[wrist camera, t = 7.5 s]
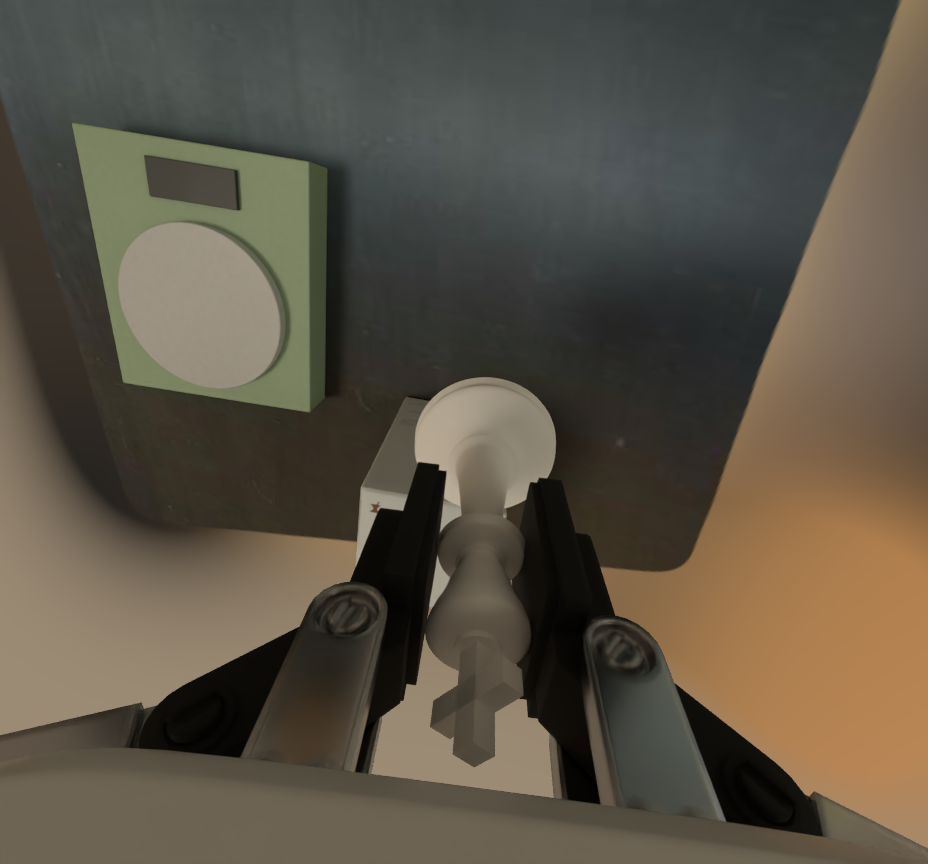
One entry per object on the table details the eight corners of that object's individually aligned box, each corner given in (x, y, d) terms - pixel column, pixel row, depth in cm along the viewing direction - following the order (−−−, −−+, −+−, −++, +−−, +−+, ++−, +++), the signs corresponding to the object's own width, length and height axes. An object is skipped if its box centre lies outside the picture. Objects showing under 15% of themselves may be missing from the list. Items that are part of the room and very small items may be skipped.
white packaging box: (393, 477, 35) (345, 596, 24) (405, 393, 32) (357, 484, 21) (482, 495, 36) (477, 621, 24) (503, 413, 32) (508, 514, 21)
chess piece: (585, 443, 15) (721, 765, 6) (485, 523, 17) (478, 868, 8) (483, 346, 14) (465, 573, 5) (387, 443, 16) (243, 744, 7)
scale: (114, 133, 26) (57, 118, 23) (327, 168, 26) (303, 159, 23) (153, 370, 33) (113, 386, 29) (325, 397, 33) (305, 417, 29)
